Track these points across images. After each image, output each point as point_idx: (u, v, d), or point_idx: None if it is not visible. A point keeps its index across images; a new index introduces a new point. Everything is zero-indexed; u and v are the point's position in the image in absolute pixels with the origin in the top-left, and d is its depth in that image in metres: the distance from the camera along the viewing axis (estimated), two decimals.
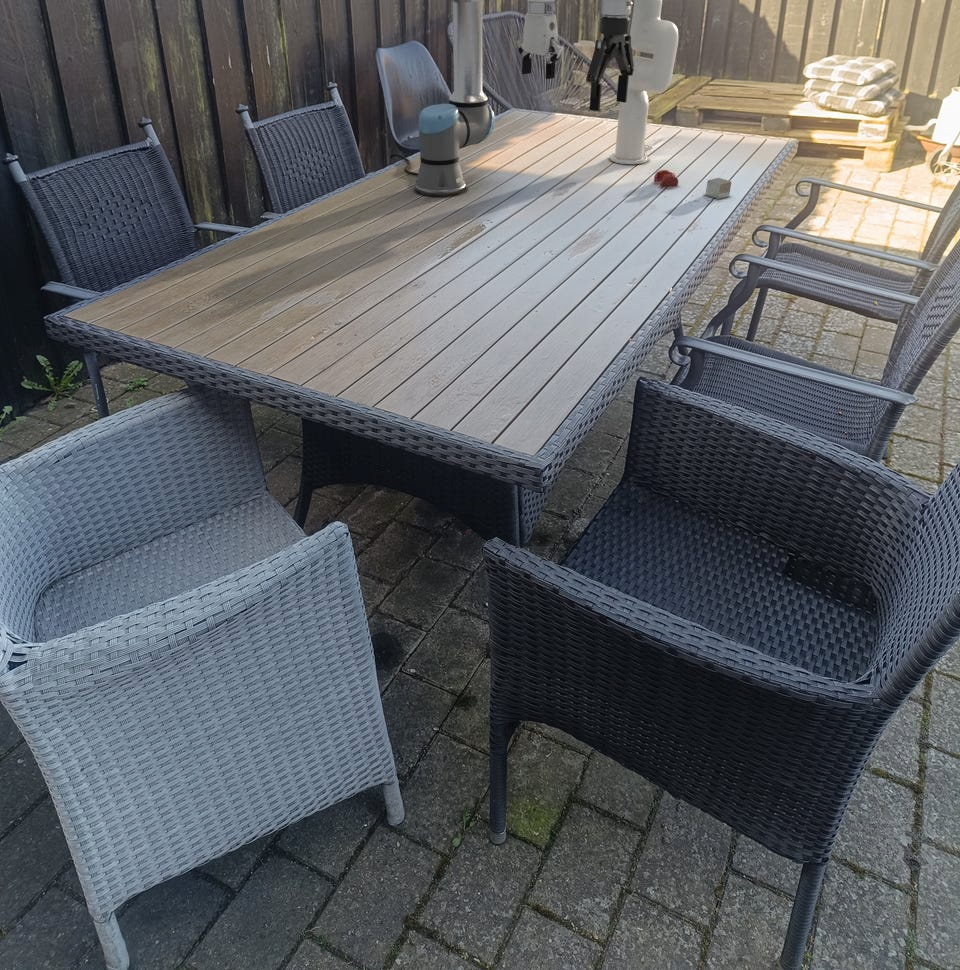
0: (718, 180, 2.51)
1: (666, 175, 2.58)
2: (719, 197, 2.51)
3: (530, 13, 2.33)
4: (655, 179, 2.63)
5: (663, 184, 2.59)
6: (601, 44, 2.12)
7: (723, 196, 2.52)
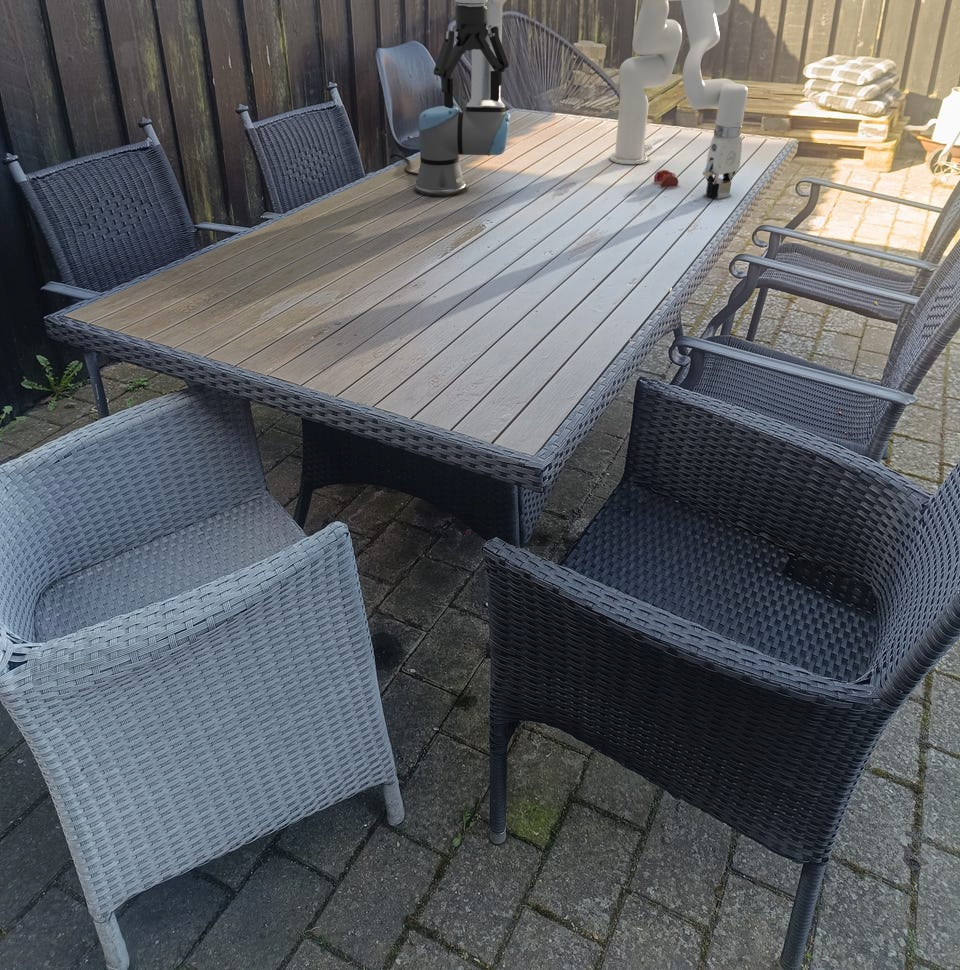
0: (718, 180, 2.51)
1: (666, 175, 2.58)
2: (719, 197, 2.51)
3: None
4: (655, 179, 2.63)
5: (663, 184, 2.59)
6: (448, 34, 1.93)
7: (723, 196, 2.52)
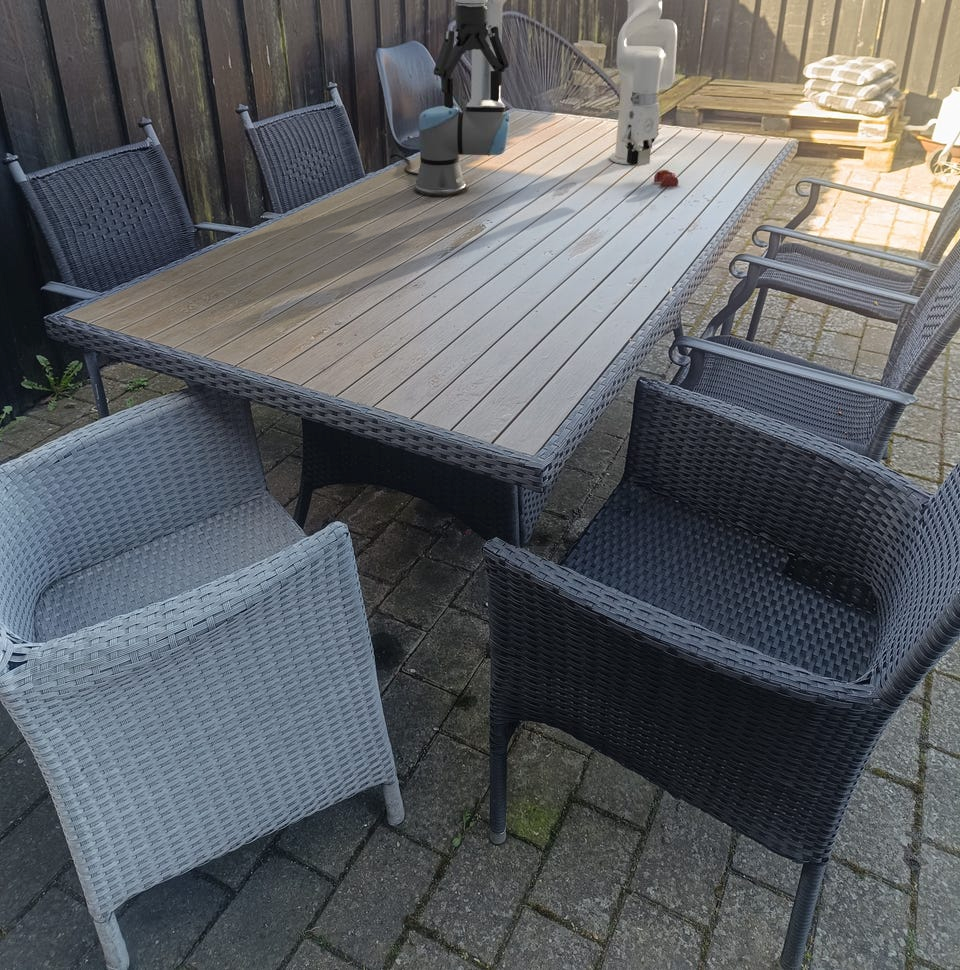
0: (637, 147, 2.56)
1: (666, 175, 2.58)
2: (639, 164, 2.56)
3: None
4: (655, 179, 2.63)
5: (663, 184, 2.59)
6: (448, 34, 1.93)
7: (643, 163, 2.56)
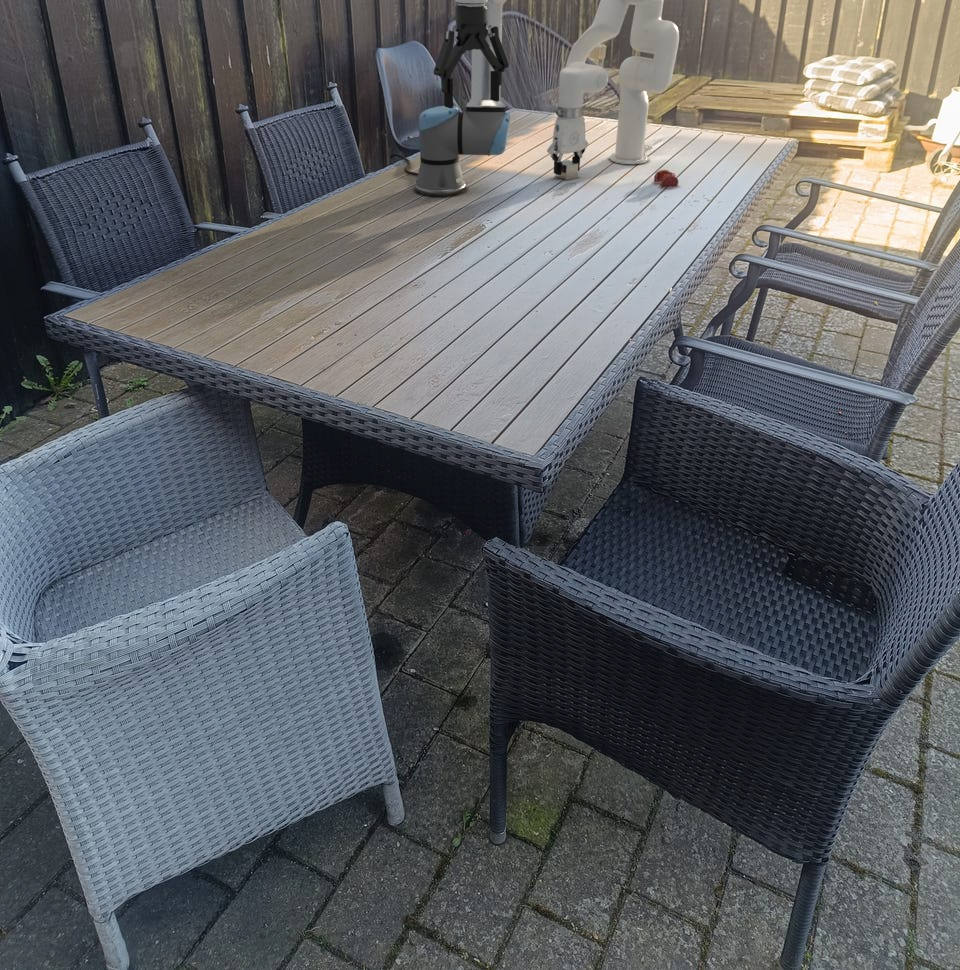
0: (566, 162, 2.68)
1: (666, 175, 2.58)
2: (567, 178, 2.67)
3: None
4: (655, 179, 2.63)
5: (663, 184, 2.59)
6: (448, 34, 1.93)
7: (571, 177, 2.68)
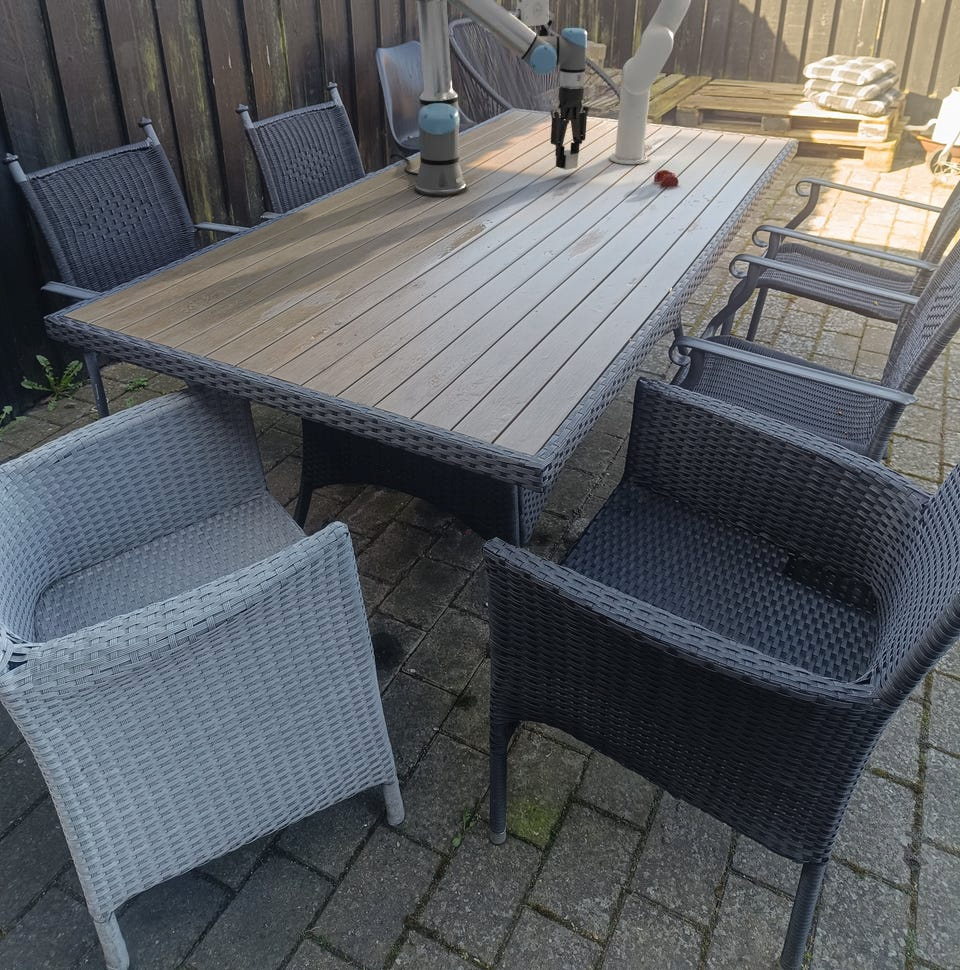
0: (566, 152, 2.66)
1: (666, 175, 2.58)
2: (567, 168, 2.65)
3: None
4: (655, 179, 2.63)
5: (663, 184, 2.59)
6: (554, 115, 2.55)
7: (571, 167, 2.66)
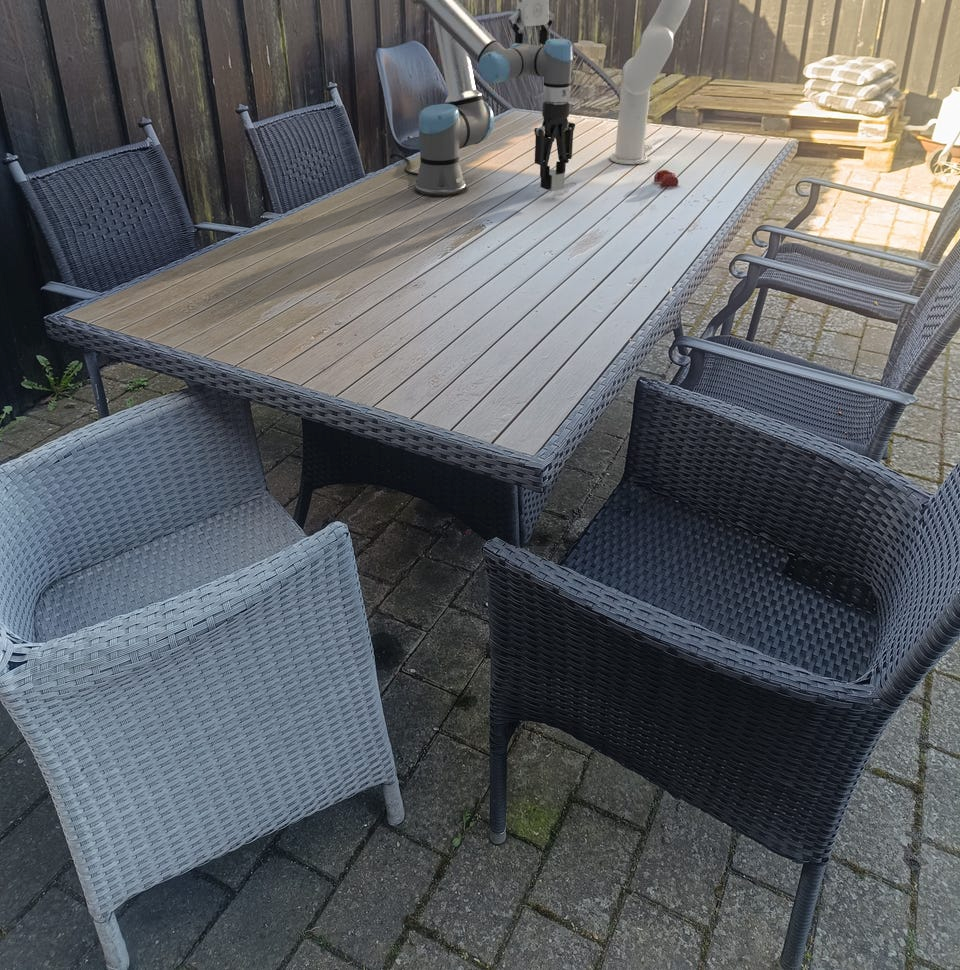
0: (551, 171, 2.47)
1: (666, 175, 2.58)
2: (552, 189, 2.46)
3: None
4: (655, 179, 2.63)
5: (663, 184, 2.59)
6: (538, 133, 2.36)
7: (557, 188, 2.47)
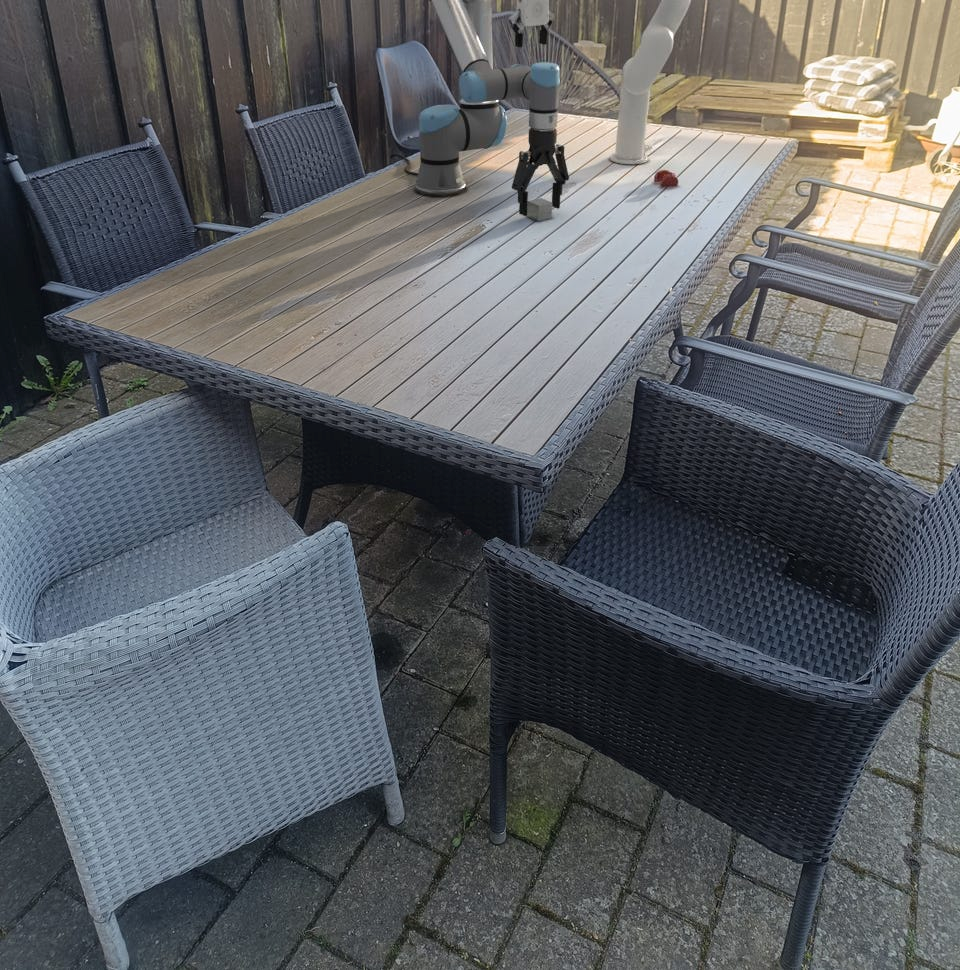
0: (538, 201, 2.35)
1: (666, 175, 2.58)
2: (539, 219, 2.35)
3: None
4: (655, 179, 2.63)
5: (663, 184, 2.59)
6: (523, 156, 2.23)
7: (544, 218, 2.35)
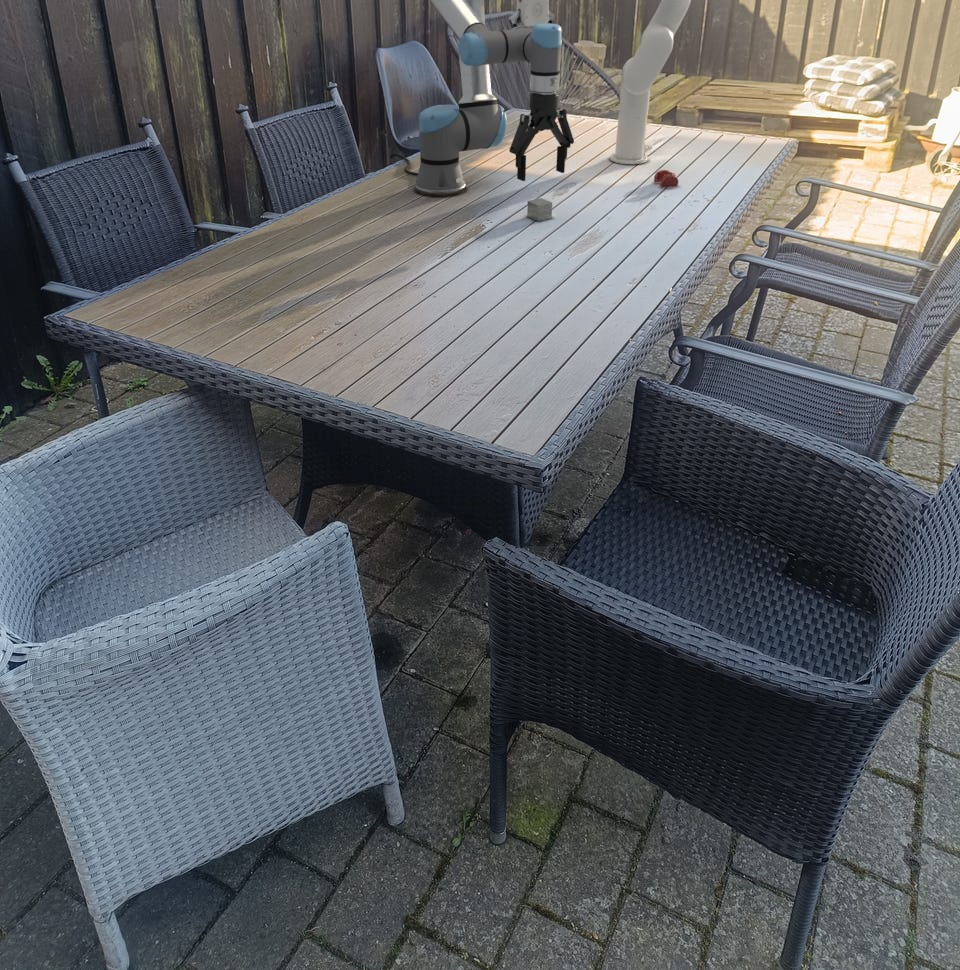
0: (538, 201, 2.35)
1: (666, 175, 2.58)
2: (539, 219, 2.35)
3: None
4: (655, 179, 2.63)
5: (663, 184, 2.59)
6: (524, 118, 2.18)
7: (544, 218, 2.35)
